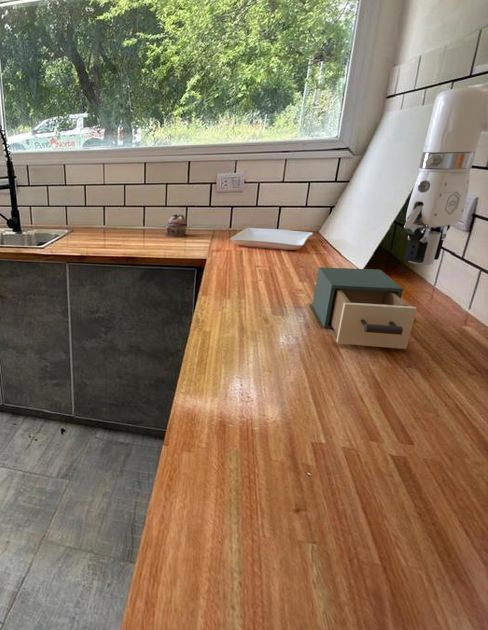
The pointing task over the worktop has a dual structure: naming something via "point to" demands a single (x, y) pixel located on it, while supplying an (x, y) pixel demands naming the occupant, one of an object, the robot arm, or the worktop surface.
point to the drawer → (371, 318)
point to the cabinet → (347, 287)
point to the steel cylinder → (430, 248)
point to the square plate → (271, 238)
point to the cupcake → (176, 226)
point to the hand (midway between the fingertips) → (421, 258)
